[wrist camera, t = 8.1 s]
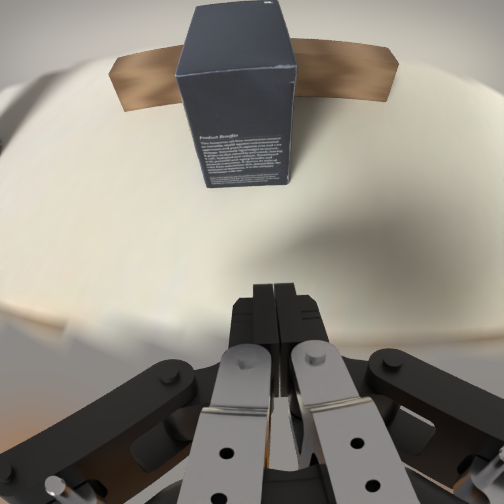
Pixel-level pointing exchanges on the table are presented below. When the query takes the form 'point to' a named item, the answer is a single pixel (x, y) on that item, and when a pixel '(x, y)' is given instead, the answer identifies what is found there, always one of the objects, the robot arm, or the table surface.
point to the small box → (239, 92)
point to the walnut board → (307, 83)
